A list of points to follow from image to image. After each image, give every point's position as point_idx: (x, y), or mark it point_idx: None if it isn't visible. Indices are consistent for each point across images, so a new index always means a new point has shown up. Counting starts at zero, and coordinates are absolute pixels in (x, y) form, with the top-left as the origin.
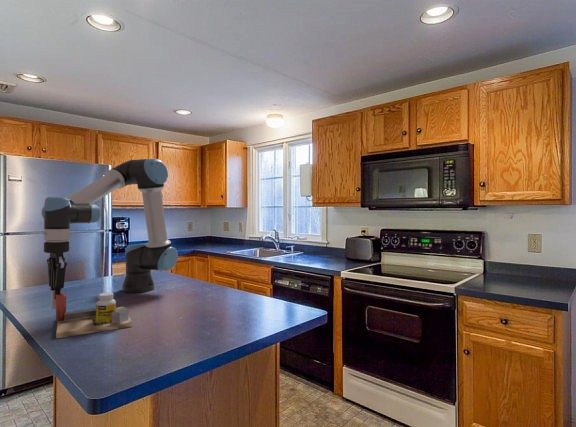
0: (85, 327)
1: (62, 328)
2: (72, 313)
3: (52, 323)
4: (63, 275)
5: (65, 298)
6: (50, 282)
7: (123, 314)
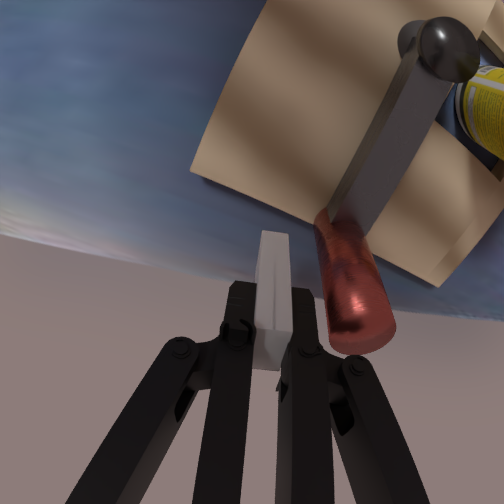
0: (486, 208)
1: (418, 256)
2: (383, 204)
3: (241, 204)
4: (410, 475)
5: (386, 296)
6: (191, 403)
7: None
